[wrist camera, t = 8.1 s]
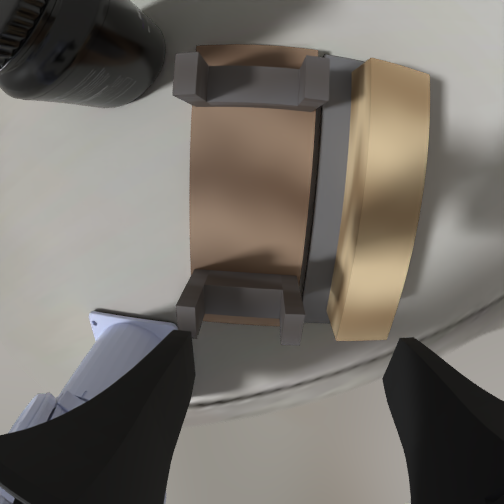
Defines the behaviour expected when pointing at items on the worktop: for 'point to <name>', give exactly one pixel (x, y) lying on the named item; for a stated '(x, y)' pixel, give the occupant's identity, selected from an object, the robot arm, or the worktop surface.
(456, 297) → the worktop surface
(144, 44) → the supplement bottle
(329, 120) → the mat
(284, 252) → the stand
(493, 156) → the worktop surface
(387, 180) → the rail
